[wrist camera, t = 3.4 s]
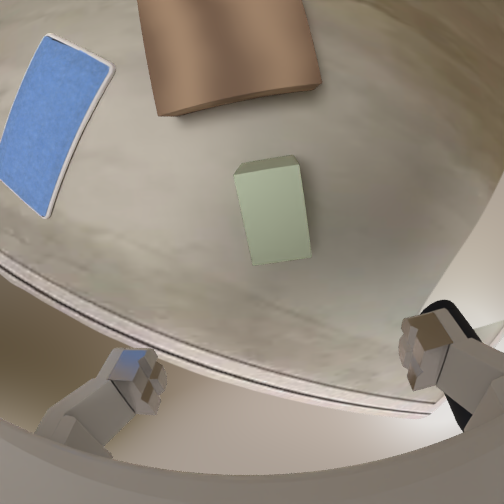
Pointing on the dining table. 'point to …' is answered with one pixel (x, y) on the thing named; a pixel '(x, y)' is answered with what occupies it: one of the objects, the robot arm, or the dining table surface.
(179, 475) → the robot arm
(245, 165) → the sage brick
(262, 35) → the walnut brick
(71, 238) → the dining table surface
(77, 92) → the blue rectangular panel
